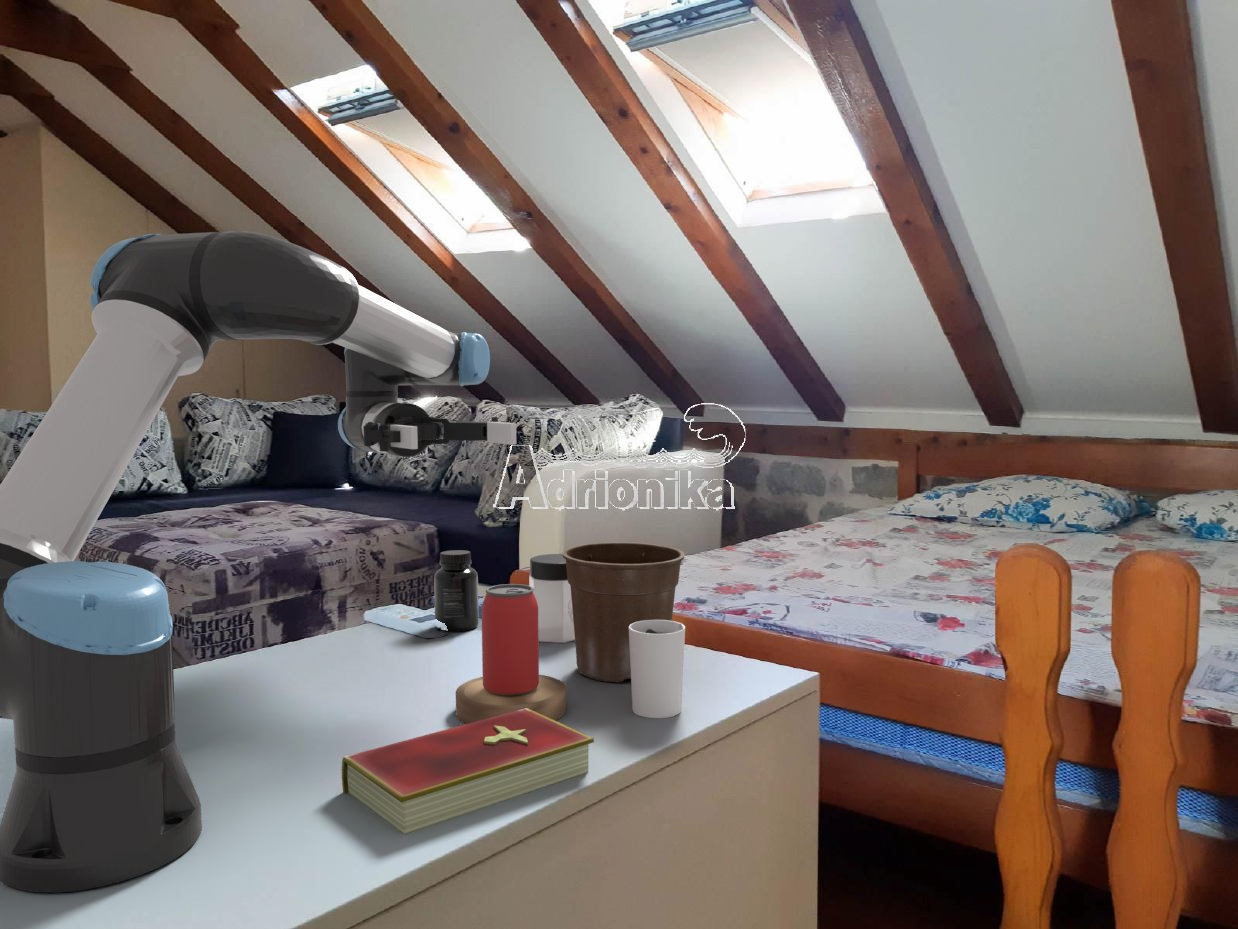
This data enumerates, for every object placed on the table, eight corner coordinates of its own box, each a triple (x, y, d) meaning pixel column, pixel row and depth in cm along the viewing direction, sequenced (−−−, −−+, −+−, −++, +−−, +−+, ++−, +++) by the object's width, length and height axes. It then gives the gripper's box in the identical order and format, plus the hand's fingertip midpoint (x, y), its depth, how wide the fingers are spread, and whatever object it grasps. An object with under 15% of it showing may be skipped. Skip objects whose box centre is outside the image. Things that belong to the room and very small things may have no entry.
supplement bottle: (487, 625, 152) (486, 551, 151) (458, 635, 147) (457, 557, 146) (455, 619, 156) (454, 547, 155) (425, 628, 150) (424, 553, 149)
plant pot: (702, 662, 132) (703, 547, 130) (652, 696, 118) (652, 567, 116) (599, 647, 139) (599, 538, 138) (540, 678, 125) (539, 556, 124)
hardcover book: (342, 796, 91) (341, 753, 90) (524, 742, 104) (524, 704, 104) (402, 842, 82) (401, 795, 81) (593, 776, 95) (593, 735, 95)
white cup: (620, 715, 111) (620, 631, 110) (639, 697, 117) (639, 617, 116) (675, 722, 109) (676, 636, 108) (691, 704, 115) (692, 622, 114)
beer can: (530, 699, 109) (528, 596, 108) (474, 696, 110) (473, 593, 109) (545, 682, 115) (544, 584, 114) (493, 679, 116) (491, 582, 115)
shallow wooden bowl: (488, 739, 104) (488, 716, 104) (437, 706, 114) (436, 685, 114) (588, 714, 111) (587, 693, 111) (531, 685, 122) (531, 666, 122)
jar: (552, 647, 140) (551, 566, 139) (517, 636, 146) (516, 558, 145) (597, 635, 146) (596, 558, 145) (562, 626, 152) (561, 551, 151)
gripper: (477, 451, 143) (551, 460, 126) (311, 460, 129) (369, 471, 112) (476, 401, 143) (551, 404, 126) (309, 404, 128) (368, 407, 111)
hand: (465, 435), depth 119 cm, fingers open, 13 cm apart
